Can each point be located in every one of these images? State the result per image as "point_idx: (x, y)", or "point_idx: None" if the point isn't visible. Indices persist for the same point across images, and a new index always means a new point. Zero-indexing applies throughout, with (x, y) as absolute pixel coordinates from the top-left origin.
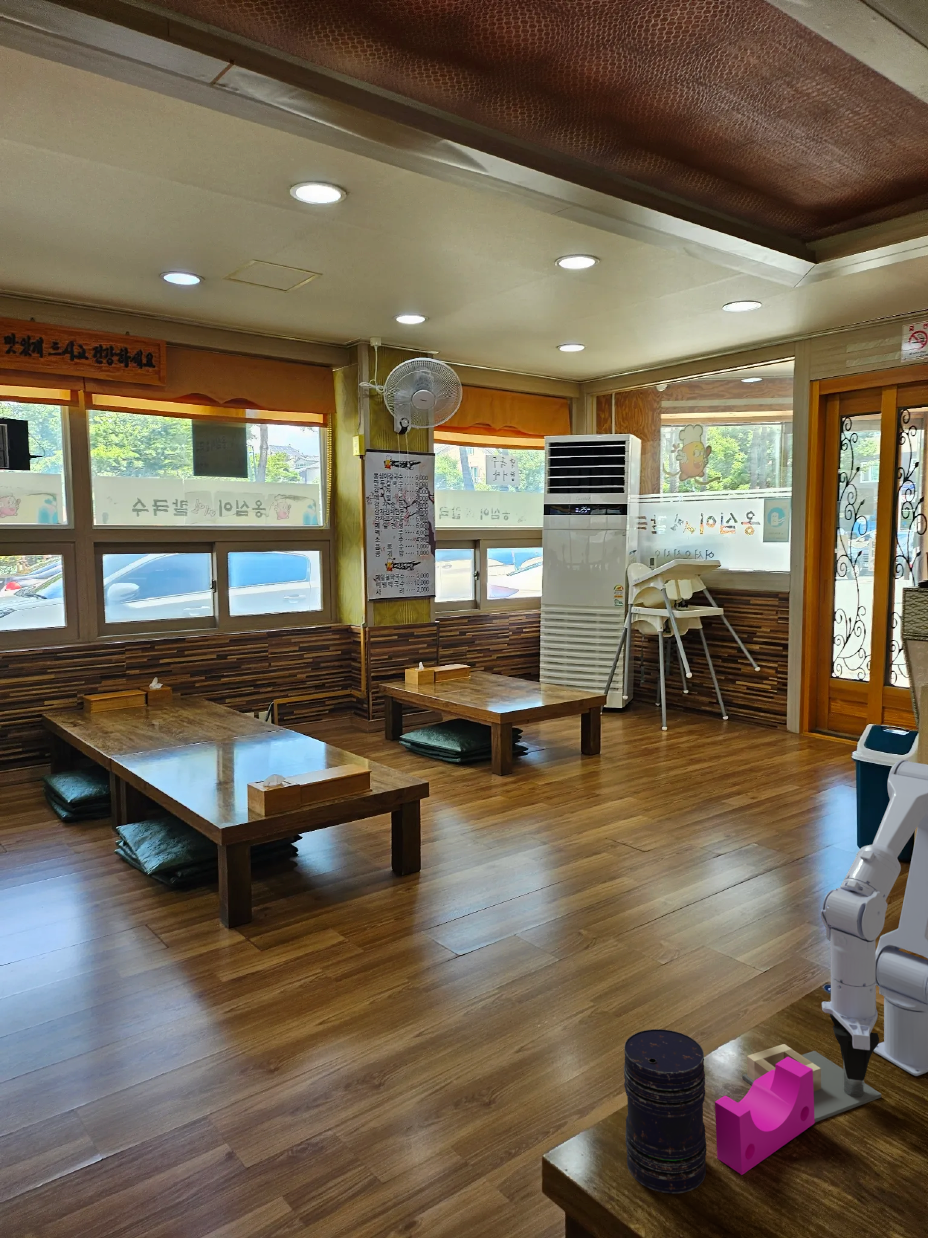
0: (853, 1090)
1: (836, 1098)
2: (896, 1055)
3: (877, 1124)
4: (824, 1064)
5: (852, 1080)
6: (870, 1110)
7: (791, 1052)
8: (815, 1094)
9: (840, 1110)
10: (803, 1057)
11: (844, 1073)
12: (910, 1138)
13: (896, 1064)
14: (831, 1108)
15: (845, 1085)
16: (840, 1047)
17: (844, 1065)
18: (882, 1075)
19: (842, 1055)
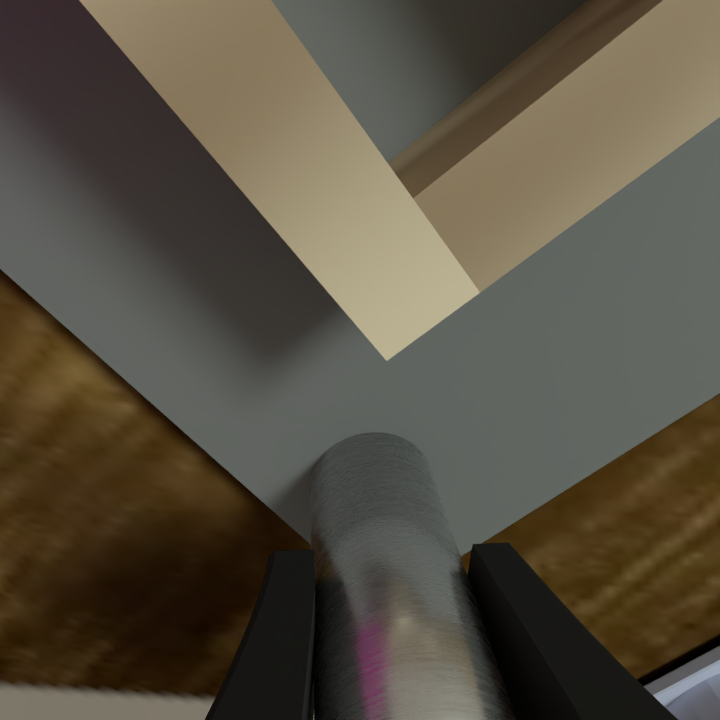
0: (312, 508)
1: (267, 380)
2: (709, 718)
3: (106, 550)
4: (682, 350)
5: (316, 556)
6: (237, 533)
7: (690, 66)
8: (278, 240)
9: (137, 387)
10: (583, 206)
11: (368, 529)
12: (42, 664)
13: (668, 679)
14: (119, 335)
15: (349, 473)
16: (549, 662)
17: (290, 622)
18: (588, 610)
19: (508, 604)
